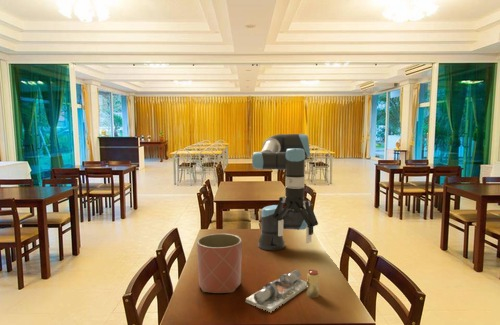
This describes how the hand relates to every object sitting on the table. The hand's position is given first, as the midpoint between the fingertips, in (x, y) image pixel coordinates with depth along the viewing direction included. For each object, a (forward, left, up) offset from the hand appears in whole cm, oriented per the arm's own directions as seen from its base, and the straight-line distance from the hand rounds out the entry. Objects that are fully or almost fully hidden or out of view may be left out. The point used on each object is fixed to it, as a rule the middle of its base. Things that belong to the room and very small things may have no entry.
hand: (294, 239), depth 137 cm
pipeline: (+5, -4, -23) cm, 23 cm away
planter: (+15, -28, -23) cm, 39 cm away
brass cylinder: (-3, +7, -23) cm, 24 cm away
